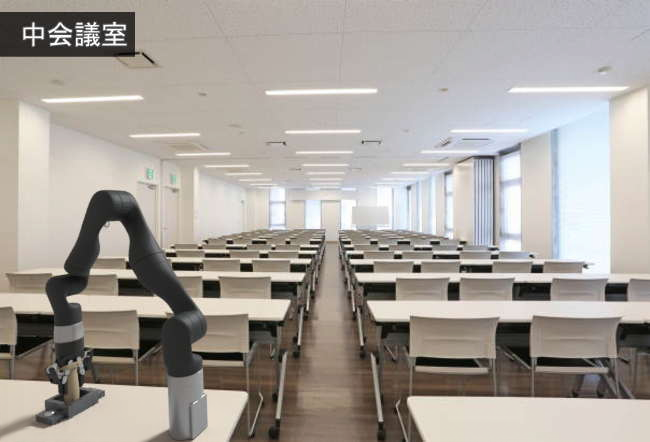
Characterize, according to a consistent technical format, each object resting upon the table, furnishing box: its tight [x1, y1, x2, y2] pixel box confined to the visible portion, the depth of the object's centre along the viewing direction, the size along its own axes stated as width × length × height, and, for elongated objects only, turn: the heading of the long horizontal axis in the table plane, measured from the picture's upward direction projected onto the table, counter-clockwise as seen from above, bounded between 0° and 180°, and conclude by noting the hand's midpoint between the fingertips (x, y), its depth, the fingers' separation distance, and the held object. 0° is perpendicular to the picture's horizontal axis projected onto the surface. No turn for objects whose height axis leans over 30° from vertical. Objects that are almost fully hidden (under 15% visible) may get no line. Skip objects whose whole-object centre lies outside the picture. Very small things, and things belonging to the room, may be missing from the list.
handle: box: [57, 359, 83, 403], centre depth 109 cm, size 5×6×15 cm
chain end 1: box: [35, 393, 74, 426], centre depth 107 cm, size 10×12×4 cm
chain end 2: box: [70, 386, 106, 418], centre depth 111 cm, size 10×12×4 cm
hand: (71, 390), depth 109 cm, fingers open, 4 cm apart
